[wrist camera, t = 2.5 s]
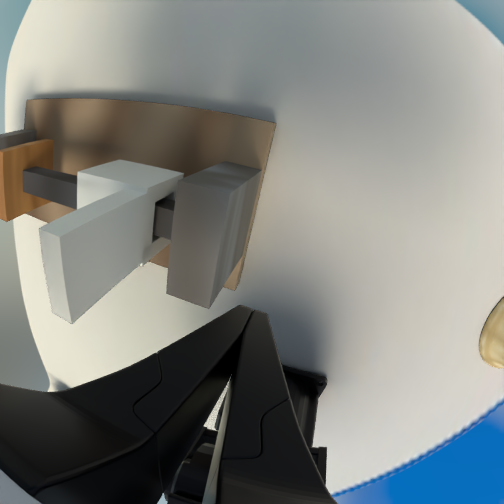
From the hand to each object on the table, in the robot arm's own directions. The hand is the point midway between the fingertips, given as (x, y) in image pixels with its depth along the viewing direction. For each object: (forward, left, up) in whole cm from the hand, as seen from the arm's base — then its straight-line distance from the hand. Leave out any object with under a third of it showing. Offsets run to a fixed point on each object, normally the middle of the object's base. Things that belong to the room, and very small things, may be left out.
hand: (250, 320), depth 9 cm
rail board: (+12, 0, -9) cm, 15 cm away
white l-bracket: (+7, 0, -6) cm, 10 cm away
